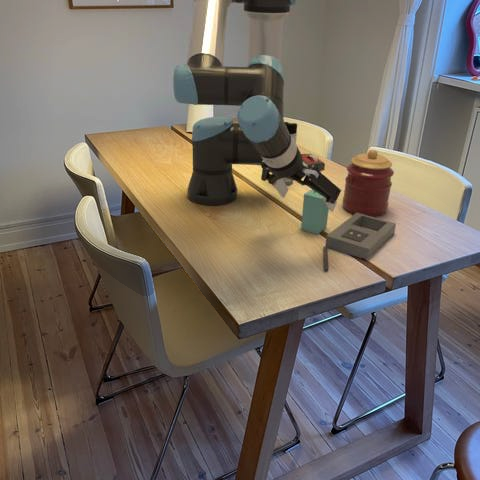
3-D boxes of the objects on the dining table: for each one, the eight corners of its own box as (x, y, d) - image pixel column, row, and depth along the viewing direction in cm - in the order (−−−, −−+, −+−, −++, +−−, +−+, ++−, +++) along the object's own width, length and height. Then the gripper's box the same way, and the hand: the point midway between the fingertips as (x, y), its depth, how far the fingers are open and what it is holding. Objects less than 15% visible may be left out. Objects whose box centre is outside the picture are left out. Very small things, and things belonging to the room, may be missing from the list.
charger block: (317, 234, 128) (322, 194, 122) (300, 229, 130) (304, 189, 125) (326, 227, 131) (331, 188, 126) (309, 222, 134) (313, 184, 129)
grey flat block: (367, 260, 116) (369, 247, 114) (325, 246, 121) (326, 234, 120) (394, 233, 129) (396, 221, 127) (355, 222, 135) (356, 211, 133)
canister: (354, 219, 137) (363, 158, 128) (334, 201, 148) (341, 144, 140) (395, 215, 140) (407, 155, 132) (373, 198, 151) (382, 142, 143)
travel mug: (270, 183, 160) (273, 122, 151) (278, 177, 165) (282, 118, 156) (287, 187, 157) (292, 125, 148) (295, 180, 163) (300, 120, 153)
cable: (328, 272, 111) (328, 268, 110) (323, 271, 111) (324, 267, 110) (327, 249, 120) (327, 245, 120) (323, 248, 120) (323, 245, 120)
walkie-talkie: (288, 161, 182) (311, 180, 165) (289, 150, 180) (312, 167, 163) (310, 160, 185) (334, 178, 168) (311, 148, 182) (336, 165, 166)
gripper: (225, 157, 109) (260, 200, 127) (326, 182, 96) (349, 226, 114) (240, 129, 110) (272, 175, 128) (341, 150, 98) (361, 198, 115)
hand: (308, 199), depth 121 cm, fingers open, 13 cm apart
